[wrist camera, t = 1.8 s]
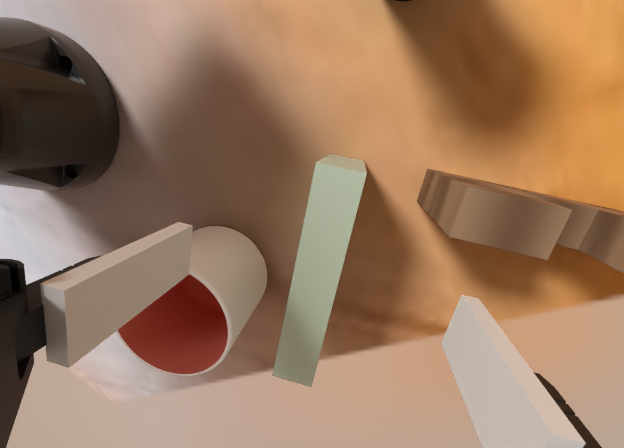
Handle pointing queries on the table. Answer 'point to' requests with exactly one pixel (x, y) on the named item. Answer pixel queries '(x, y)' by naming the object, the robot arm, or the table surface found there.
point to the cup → (201, 306)
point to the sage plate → (319, 264)
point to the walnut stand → (521, 219)
